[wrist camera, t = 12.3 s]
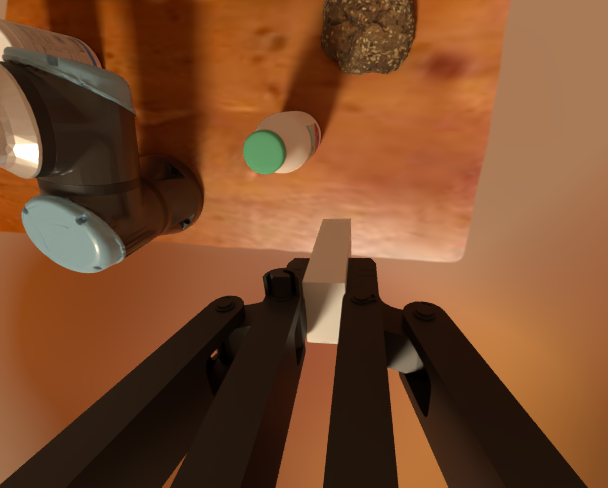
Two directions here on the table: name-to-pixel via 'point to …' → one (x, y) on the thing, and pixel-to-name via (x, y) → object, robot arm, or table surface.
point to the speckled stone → (368, 34)
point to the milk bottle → (282, 142)
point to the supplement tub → (45, 43)
